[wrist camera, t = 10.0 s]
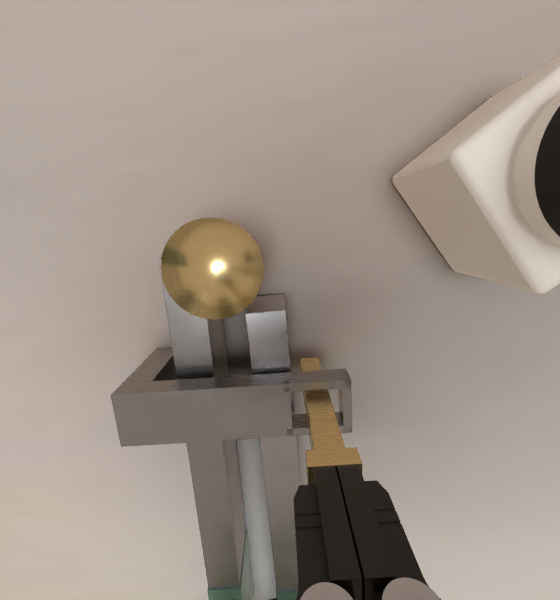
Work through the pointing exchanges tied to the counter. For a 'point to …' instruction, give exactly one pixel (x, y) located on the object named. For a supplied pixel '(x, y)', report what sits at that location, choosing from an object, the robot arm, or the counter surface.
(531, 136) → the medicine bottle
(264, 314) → the tong arm
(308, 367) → the lock pin
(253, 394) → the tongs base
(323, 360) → the counter surface
